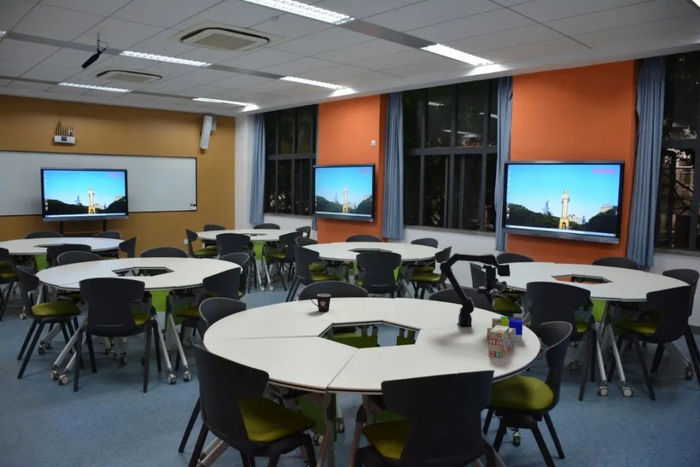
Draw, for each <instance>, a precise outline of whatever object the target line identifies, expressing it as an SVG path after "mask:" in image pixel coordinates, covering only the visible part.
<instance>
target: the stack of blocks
mask: <svg viewBox="0 0 700 467" xmlns="http://www.w3.org/2000/svg"><path fill="white" fill-rule="evenodd" d="M513 347H514V341H513V329H512V328H509V327H507V326H499V325H496V326H495V327H494V328H493V329H492V330H490V333H489V341H488V357H489V358H490V357H491V358H497V359H501V360H502V359H503V358H505V356H506V355H507V354H508V353H509V351H510V350H512V349H513Z"/></svg>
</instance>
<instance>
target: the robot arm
mask: <svg viewBox="0 0 700 467" xmlns="http://www.w3.org/2000/svg"><path fill="white" fill-rule="evenodd" d="M458 261H460V262H461V261H462V262H474V263H475V262H476V263H481V264H483V265H482V266H481V269H482V270H484V271H485V272H484V273H485V277H484V278H483V281H485V284H484V286H483V287H478V288H477V290H476V293H477V294H478V295H480V294H481V295H484V296H485V297H486V299H487V302H488V303H489V305H493V303H494V301H495V297H496V295H497V294H498V293H499V292H504V291H505V290H506V288H507V287H508V286H507V285H508V284H507V281H505V280H503V281H499V278H500V277H511V268H510V264H509V263H506V264H500V263H499V262H498V261H497V258H496V256H495V255H494V254H493V253H484V254H483V253H482V254H471V253H469V254H468V253H458V252H455V253H453V255H452V256H450V257H449V258H447V259H446V260H444V261H442V262H440V265H439V270H440V272H441V273H442V274H443V275H444V276H445V277H446V278H447V279H448V281H449V283H450V285H451V286H452V288H453V290H454V292H455V293H456V295H457V297H458V298H459V300H460V303H461V307H460V308H459V313H458V318H457V319H458V322H457V323H456V324H457V325H458V326H459V327H462V328H463V327H464V328H465V327H466V328H467V327H473V325H472V322H473V317H472V313H474V310H475V301H473V300H472V297H471V296H469V297H468V296H467V295H466V294H465V291H464V289H463V288H462V287H461V285H460V283H459V281H458V279H457V278H456V276H455V274H454V271H453V269H452V267H453V265H455V263H457V262H458ZM497 275H498V276H499V278H497Z"/></svg>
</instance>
